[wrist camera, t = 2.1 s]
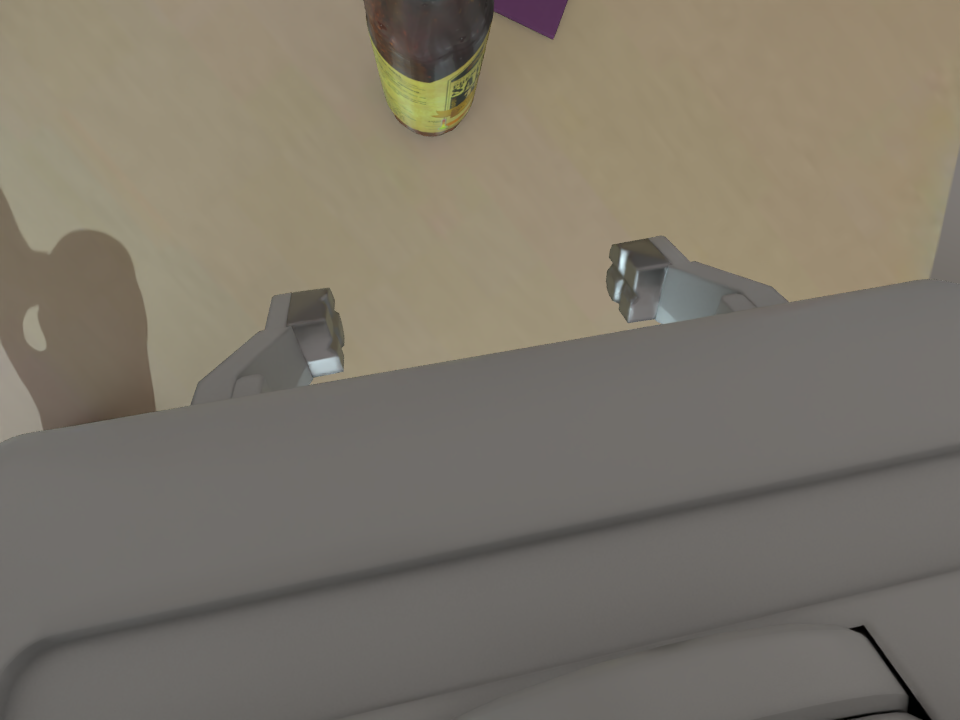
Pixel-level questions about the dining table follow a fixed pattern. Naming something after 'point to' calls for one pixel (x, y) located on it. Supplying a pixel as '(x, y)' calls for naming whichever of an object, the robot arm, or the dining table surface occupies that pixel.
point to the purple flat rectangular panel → (533, 13)
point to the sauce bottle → (429, 58)
